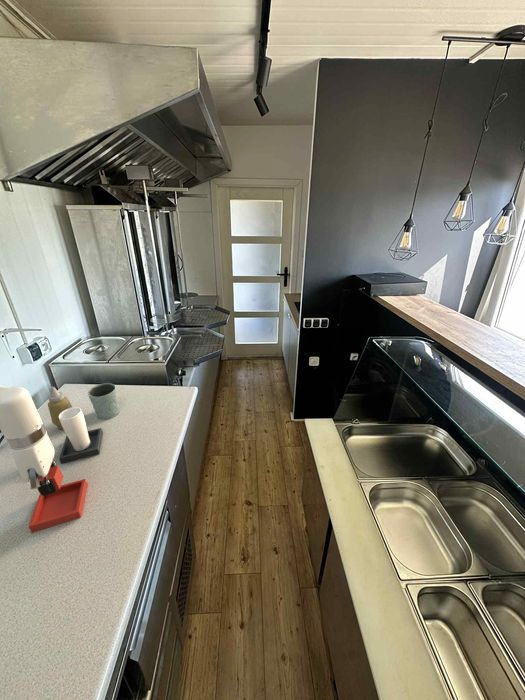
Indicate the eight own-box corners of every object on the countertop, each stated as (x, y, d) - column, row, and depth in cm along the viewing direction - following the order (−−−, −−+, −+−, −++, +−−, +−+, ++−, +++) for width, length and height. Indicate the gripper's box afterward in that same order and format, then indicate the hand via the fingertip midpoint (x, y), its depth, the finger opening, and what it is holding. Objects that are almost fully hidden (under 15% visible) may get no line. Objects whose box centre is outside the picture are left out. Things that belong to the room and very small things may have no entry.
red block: (40, 495, 76) (34, 483, 74) (45, 481, 80) (39, 470, 78) (59, 489, 77) (54, 477, 75) (63, 476, 81) (58, 465, 79)
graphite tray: (61, 463, 97) (58, 458, 95) (68, 440, 106) (66, 435, 105) (99, 454, 100) (97, 448, 99) (103, 432, 110) (101, 427, 109)
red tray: (31, 533, 76) (28, 527, 75) (43, 496, 85) (41, 490, 84) (81, 517, 79) (78, 511, 78) (87, 484, 89) (85, 478, 88)
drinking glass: (70, 445, 103) (56, 412, 97) (91, 436, 107) (79, 404, 101) (73, 456, 99) (59, 422, 92) (95, 447, 103) (83, 413, 96)
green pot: (98, 408, 124) (91, 384, 119) (124, 404, 126) (117, 381, 121) (93, 423, 115) (84, 398, 110) (120, 418, 117) (113, 394, 112)
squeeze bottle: (53, 424, 114) (37, 387, 107) (76, 416, 119) (62, 379, 111) (57, 435, 109) (40, 396, 101) (81, 425, 114) (67, 387, 106)
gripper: (20, 417, 76) (44, 466, 84) (-7, 464, 62) (25, 517, 70) (53, 410, 79) (73, 459, 87) (34, 454, 65) (60, 507, 73)
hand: (51, 484), depth 78 cm, fingers closed on red block, 4 cm apart
